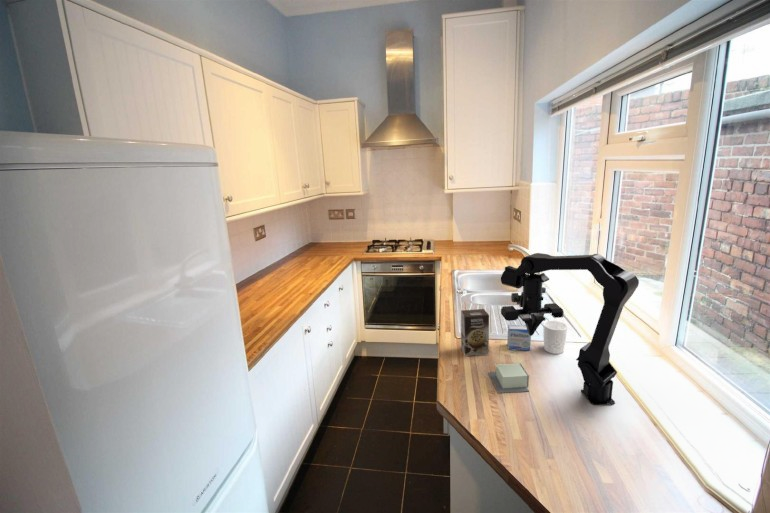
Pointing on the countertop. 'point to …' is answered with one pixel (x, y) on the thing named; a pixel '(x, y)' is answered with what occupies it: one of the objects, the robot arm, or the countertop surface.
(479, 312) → the brown cookie box
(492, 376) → the mat
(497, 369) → the sage block
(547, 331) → the white cup
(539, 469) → the countertop surface
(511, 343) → the medicine box
